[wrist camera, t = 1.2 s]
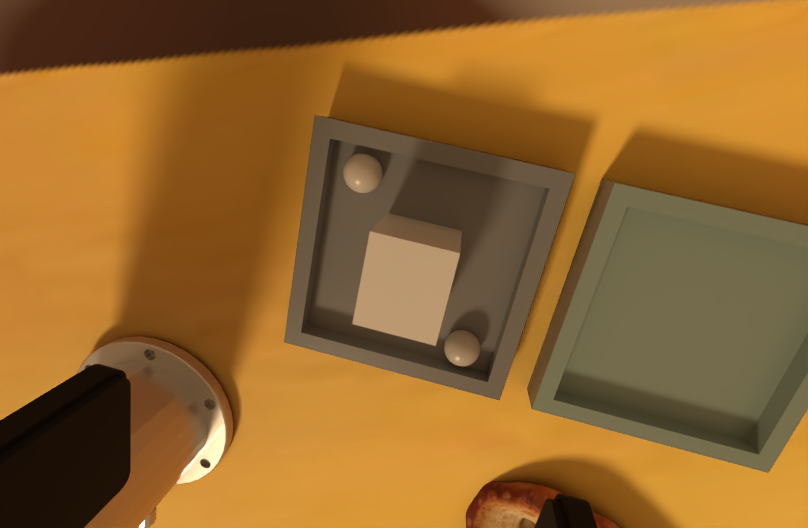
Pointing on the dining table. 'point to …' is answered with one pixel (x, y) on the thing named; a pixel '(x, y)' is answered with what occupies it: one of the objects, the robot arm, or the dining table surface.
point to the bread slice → (514, 506)
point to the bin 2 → (682, 327)
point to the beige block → (407, 278)
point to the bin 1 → (434, 203)
